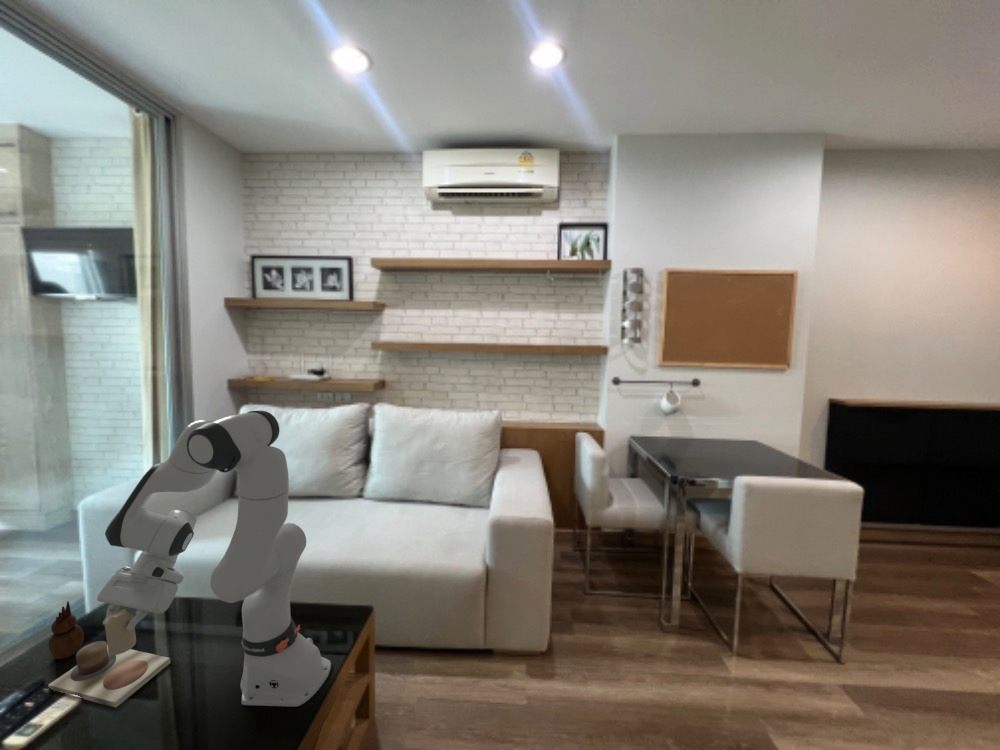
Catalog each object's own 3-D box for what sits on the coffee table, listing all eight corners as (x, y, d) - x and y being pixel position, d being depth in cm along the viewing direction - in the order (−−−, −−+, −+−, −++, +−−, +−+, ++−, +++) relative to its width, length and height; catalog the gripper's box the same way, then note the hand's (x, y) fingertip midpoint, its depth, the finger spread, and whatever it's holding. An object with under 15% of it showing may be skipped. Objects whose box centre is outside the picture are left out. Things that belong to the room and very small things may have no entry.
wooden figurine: (77, 642, 126) (70, 596, 124) (89, 648, 124) (82, 601, 122) (47, 659, 120) (39, 610, 117) (58, 666, 118) (50, 616, 115)
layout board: (170, 662, 119) (168, 641, 118) (115, 707, 105) (112, 683, 104) (108, 648, 124) (105, 627, 123) (48, 690, 110) (45, 666, 109)
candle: (133, 635, 116) (129, 602, 114) (138, 645, 113) (134, 611, 111) (106, 648, 112) (101, 613, 110) (110, 658, 108) (106, 623, 107)
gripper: (112, 562, 118) (75, 618, 110) (172, 572, 114) (138, 632, 106) (130, 568, 123) (96, 622, 115) (189, 578, 119) (158, 635, 111)
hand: (117, 627), depth 111 cm, fingers closed on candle, 5 cm apart
